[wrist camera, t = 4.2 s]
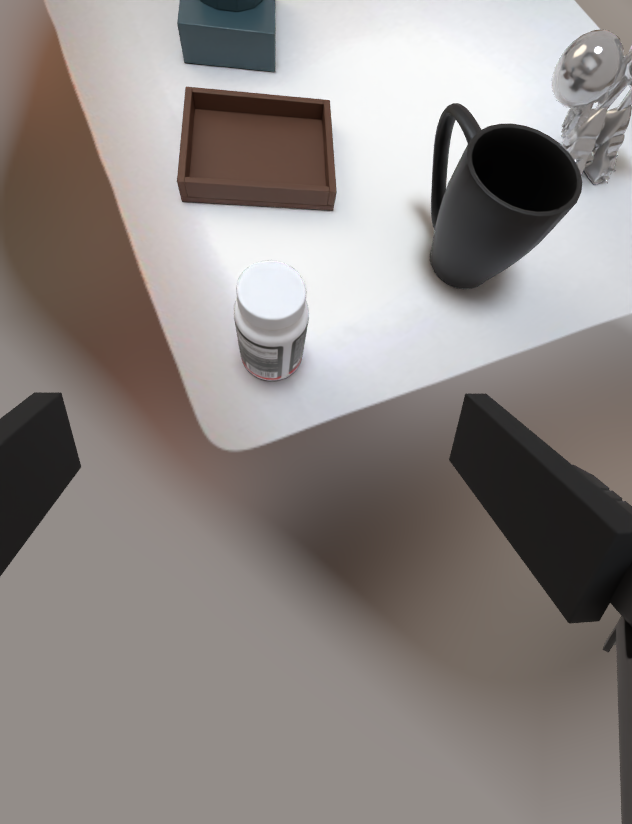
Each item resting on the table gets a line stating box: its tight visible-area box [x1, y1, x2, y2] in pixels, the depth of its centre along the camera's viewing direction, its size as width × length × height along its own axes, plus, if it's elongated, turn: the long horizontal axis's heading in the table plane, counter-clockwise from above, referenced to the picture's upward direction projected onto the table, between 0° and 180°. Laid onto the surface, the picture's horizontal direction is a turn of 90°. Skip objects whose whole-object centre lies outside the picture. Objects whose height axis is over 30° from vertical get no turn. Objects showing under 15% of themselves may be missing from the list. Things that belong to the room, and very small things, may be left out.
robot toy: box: [552, 30, 632, 185], centre depth 33 cm, size 15×6×15 cm, turn 104°
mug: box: [430, 103, 582, 289], centre depth 31 cm, size 8×12×10 cm
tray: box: [177, 87, 336, 210], centre depth 35 cm, size 13×11×2 cm
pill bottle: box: [234, 261, 309, 381], centre depth 26 cm, size 5×5×8 cm
